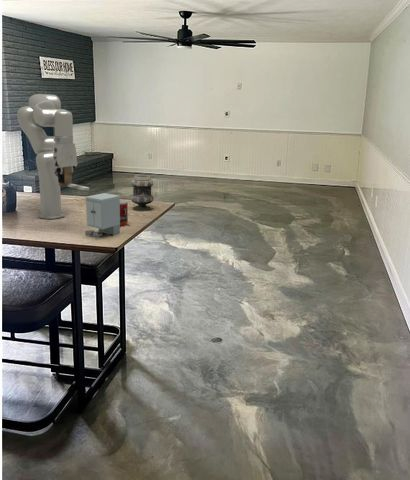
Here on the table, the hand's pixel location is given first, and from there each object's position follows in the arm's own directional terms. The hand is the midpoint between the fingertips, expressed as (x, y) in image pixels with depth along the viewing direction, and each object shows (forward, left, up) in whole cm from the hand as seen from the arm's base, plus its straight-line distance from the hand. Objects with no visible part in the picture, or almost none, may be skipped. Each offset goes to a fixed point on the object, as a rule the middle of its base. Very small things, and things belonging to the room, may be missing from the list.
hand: (65, 181), depth 217 cm
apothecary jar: (+3, +50, -21) cm, 55 cm away
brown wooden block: (+6, 0, -2) cm, 6 cm away
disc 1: (+17, -3, -21) cm, 27 cm away
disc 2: (+21, -3, -21) cm, 30 cm away
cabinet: (+21, +1, -21) cm, 30 cm away
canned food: (+15, +18, -21) cm, 32 cm away
